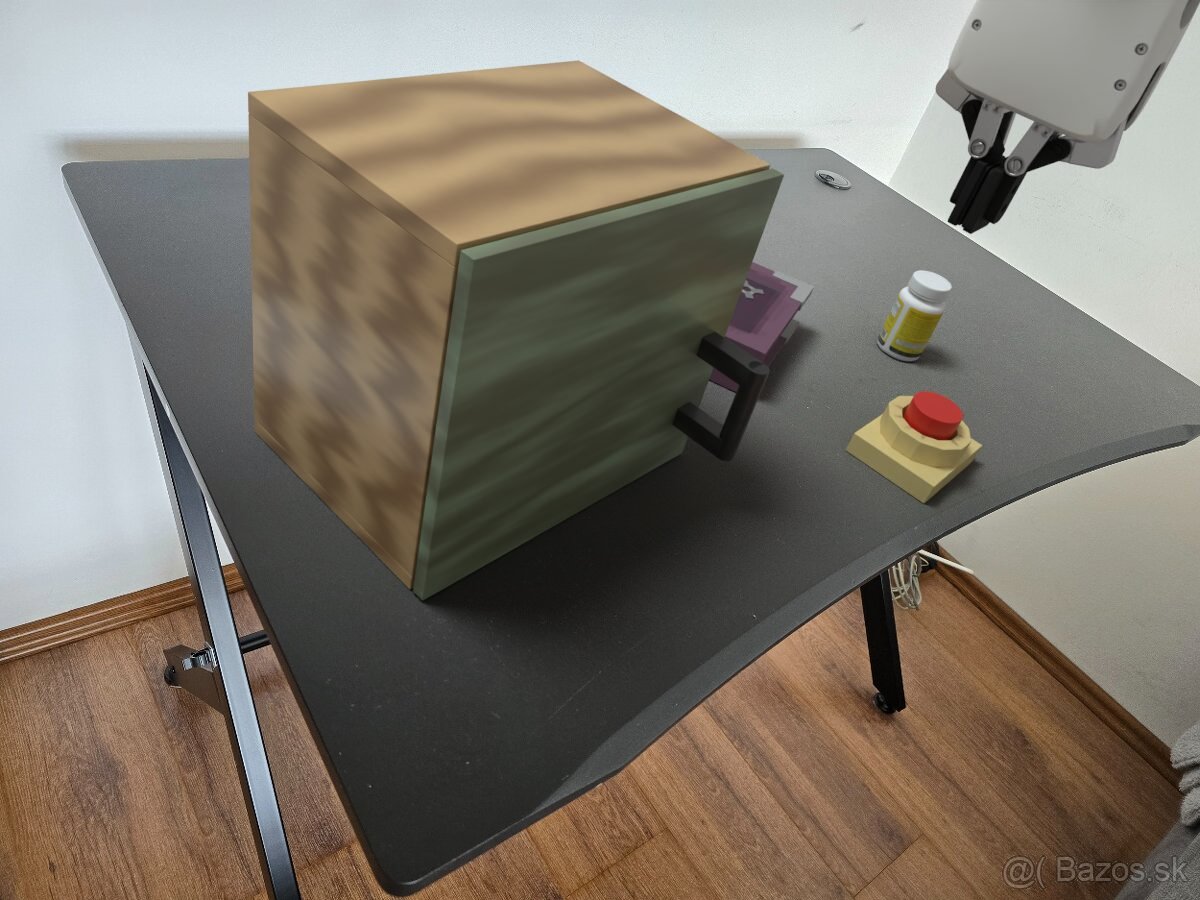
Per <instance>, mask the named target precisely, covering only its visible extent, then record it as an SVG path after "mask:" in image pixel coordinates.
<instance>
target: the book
mask: <svg viewBox="0 0 1200 900" xmlns="http://www.w3.org/2000/svg"><path fill="white" fill-rule="evenodd" d="M814 288H815V286H814V285H812V284H809V283H807V282H804V281H802V280H800V279H797V278H795V277H793V276H791V275H788V274H786V273H783V272H781V271H778V270H773V269H771V268H768V267H766V266H763V265H761V264H758V263H756V262H754V261H752V264H751V267H750V270H749V272H748V275H747V278H746V280H745V283H744V286H743V289H742V291H741V294H740V297H739V299H738V302H737V305H736V308H735V310H734V313H733V316H732V318H731V321H730V324H729V327H728V329H727V332H726V335H725V338H726V339H727V340H729V341H730V342H732V343H733V344H735V345H736V346H738V347H739V348H741V349H742V350H744V351H745V352H747V353H748V354H750V355H751V356H753V357H754V358H756V359H757V360H759V361H760V362H762V363H763V364H765V365H766V366H767V367H768V368H769V367H770V366H771V364H772V363H773V361H774V360H775V359H776V357H777V355H778V354H779V353H780V351H781V350H782V348H783V347H785V346H786V344H787V343H788V342H789V340H790V339H791V338H792V336H793V334H794V333H795V331H796V330H797V327H798V325H799V322H800V321H799V320H796V319H794V317H795V316H796V314H797V313H798V312H800V311H801V310H802V308H803V307H804V306H805V304H806V303H807V301H808V300H809V298H810V297H811V296H812V293H813V290H814ZM709 381H711V382H713V383H715V384H718V385H720V386H722V387H724V388H726V389H728V390H731V391H733V392H735V393H736V392H737V389H738V387H739V385H738V384H737V383H735V382H734V381H733V380H731V379H730V378H728V377H727V376H725V375H724V374H722V373H721V372H719V371H718V370H716V369H715V368H714V367H713V370H712V373H711V376H710V378H709Z"/></svg>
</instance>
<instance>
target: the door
mask: <svg viewBox="0 0 1200 900" xmlns="http://www.w3.org/2000/svg"><path fill="white" fill-rule="evenodd" d="M784 177H785V174H784V173H782V172H781V171H779V170H777V169H775V168H769V169H768V170H764V171H761V172H757V173H753V174H749V175H745V176H742V177H738V178H734V179H730V180H726V181H723V182H719V183H715V184H711V185H707V186H703V187H700V188H696V189H692V190H688V191H684V192H681V193H677V194H673V195H669V196H665V197H662V198H658V199H654V200H650V201H646V202H643V203H639V204H635V205H631V206H627V207H624V208H620V209H616V210H612V211H608V212H605V213H601V214H597V215H593V216H589V217H585V218H582V219H578V220H574V221H570V222H566V223H563V224H559V225H555V226H551V227H547V228H544V229H540V230H536V231H532V232H528V233H525V234H521V235H517V236H513V237H509V238H506V239H502V240H498V241H494V242H490V243H486V244H483V245H479V246H475V247H471V248H467V249H464V250H461V254H460V261H459V268H458V275H457V282H456V289H455V296H454V303H453V310H452V318H451V325H450V332H449V339H448V346H447V353H446V360H445V367H444V374H443V381H442V389H441V396H440V403H439V410H438V417H437V424H436V431H435V438H434V445H433V452H432V460H431V467H430V474H429V481H428V488H427V495H426V502H425V509H424V516H423V524H422V531H421V538H420V545H419V552H418V559H417V566H416V573H415V580H414V587H413V588H412V592H413V593H414V594H415V595H416V596H417V597H418V598H419V599H420V600H421V601H425V600H426V599H428V598H430V597H432V596H434V595H435V594H437V593H439V592H441V591H442V590H445V589H446V588H448V587H450V586H451V585H453V584H455V583H457V582H458V581H460V580H462V579H463V578H465V577H468V576H469V575H470V574H472V573H474V572H476V571H477V570H479V569H481V568H483V567H485V566H486V565H488V564H490V563H492V562H494V561H495V560H497V559H499V558H500V557H502V556H504V555H506V554H508V553H509V552H511V551H513V550H514V549H516V548H518V547H520V546H521V545H523V544H525V543H526V542H529V541H530V540H532V539H534V538H536V537H537V536H539V535H541V534H542V533H544V532H547V531H548V530H550V529H552V528H553V527H555V526H557V525H559V524H560V523H562V522H564V521H565V520H568V519H569V518H571V517H572V516H574V515H576V514H578V513H580V512H582V511H583V510H584V509H586V508H588V507H590V506H592V505H594V504H596V503H597V502H599V501H600V500H602V499H605V498H606V497H608V496H610V495H611V494H613V493H615V492H616V491H618V490H620V489H622V488H624V487H625V486H627V485H629V484H630V483H632V482H634V481H635V480H638V479H639V478H641V477H643V476H645V475H646V474H648V473H650V472H651V471H653V470H655V469H657V468H659V467H660V466H662V465H664V464H666V463H667V462H669V461H671V460H674V458H677V457H679V456H680V455H682V454H683V451H684V449H685V447H686V444H687V441H688V438H689V439H691V440H692V441H693V442H695V444H697V445H699V446H701V448H703V449H704V450H706V451H707V452H709V453H710V454H711V455H713V457H714V458H717V459H718V460H720V461H723V462H731V461H732V460H734V458H735V456H736V454H737V451H738V449H739V446H740V444H741V441H742V438H743V436H744V434H745V432H746V430H747V427H748V425H749V423H750V420H751V418H752V415H753V412H754V410H755V408H756V406H757V404H758V401H759V398H760V396H761V393H762V391H763V389H764V386H765V385H766V381H767V379H768V377H769V374H770V368H769V367H767V366H766V365H765V364H763V363H762V362H760V361H759V360H757V359H756V358H754V357H753V356H751V355H750V354H748V353H747V352H745V351H744V350H742V349H741V348H739V347H738V346H736V345H735V344H733V343H732V342H730V341H729V340H727V339H726V338H725V335H726V332H727V329H728V327H729V324H730V321H731V318H732V316H733V313H734V310H735V308H736V305H737V302H738V299H739V297H740V294H741V291H742V289H743V286H744V283H745V280H746V278H747V275H748V272H749V270H750V267H751V264H752V262H754V260H755V259H754V258H755V256H756V253H757V250H758V247H759V245H760V242H761V240H762V236H763V234H764V232H765V229H766V225H767V223H768V220H769V218H770V215H771V213H772V209H773V207H774V204H775V201H776V199H777V196H778V194H779V190H780V187H781V185H782V182H783V180H784ZM713 367H714V368H715V369H716V370H718V371H719V372H721V373H722V374H724V375H725V376H727V377H728V378H730V379H731V380H733V381H734V382H735V383H737V384H738V385H739V387H738V389H737V392H735V395H734V397H733V400H732V402H731V404H730V408H729V409H728V412H727V415H726V417H725V420H724V423H723V424H722V423H721V422H719V421H718V420H717V419H715V418H713V417H712V415H709V414H708V413H707V412H705V411H704V410H702V409H701V408H700V405H701V404H702V403H701V402H702V400H703V397H704V394H705V393H706V390H707V387H708V383H709V381H710V380H709V378H710V376H711V373H712V370H713Z"/></svg>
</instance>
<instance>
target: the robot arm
mask: <svg viewBox="0 0 1200 900" xmlns="http://www.w3.org/2000/svg"><path fill="white" fill-rule="evenodd" d="M1199 5H1200V0H976V1H975V3H974V5H973V7H972V8H971V11H970V13H969V15H968V17H967V18H966V20H965V22H964V24H963V27H962V29H961V30H960V33H959V35H958V37H957V39H956V41H955V43H954V46H953V48H952V51H951V53H950V57H949V60H948V67H947V69H946V71H945V72H944V73H943V75H942V76H941V77H940V79H939V80H938V82H937V83H936V85H935V94H936V95H937V96H938V97H939V98H940V99H942V100H943V102H945V103H946V104H947V105H948V106H950V107H951V108H952V109H953V110H954V111H956V112H958V113H959V114H960V115H961V119H962V122H963V126H964V128H965V132H966V135H967V138H968V145H967V152H968V154H969V156H970V157H969V160H968V162H967V164H966V166H965V168H964V170H963V172H962V173H961V176H960V178H959V179H958V182H957V184H956V185H955V187H954V189H953V191H952V193H951V196H950V197H949V202H950V203H951V204H953V205H954V206H953V209H952V210H951V213H950V214H949V216H948V217H947V223H949V224H950V225H953V226H955V227H956V226H960V227H961V228H962V231H964V232H965V233H968V234H969V235H972V234H974V233H976V232H978V231H979V230H981V229H983V228H985V227H988V225H989V224H992V225H996V224H997V223H998V222H999V221H1000V220H1001V219H1002V218H1003V217H1004V216H1005V213H1006V211H1007V210H1008V208H1009V207H1010V204H1011V202H1012V200H1013V199H1014V197H1015V196H1016V194H1017V192H1018V190H1019V188H1020V186H1021V184H1022V183H1023V181H1024V179H1025V177H1026V175H1027V173H1030V172H1033V171H1035V170H1037V169H1041V168H1043V167H1046V166H1050V165H1053V164H1055V163H1058V162H1061V163H1066V164H1069V165H1074V166H1080V167H1086V168H1090V169H1095V170H1096V169H1098V170H1099V169H1103V168H1105V167H1107V166H1108V165H1110V164H1112V163H1113V162H1114V160H1115V158H1116V156H1117V153H1118V149H1119V147H1120V144H1121V143H1120V142H1121V140H1122V137H1123V135H1124V132H1126V131H1127V130H1129V128H1131V127H1132V126H1133V124H1134V123H1135V122H1136V121H1137V119H1138V118H1139V116H1140V115H1141V113H1142V112H1143V110H1144V108H1145V107H1146V105H1147V103H1148V102H1149V100H1150V99H1151V96H1152V95H1153V93H1154V91H1155V89H1156V87H1157V85H1158V84H1159V82H1160V80H1161V79H1162V77H1163V75H1164V73H1165V71H1166V69H1167V68H1168V66H1169V64H1170V62H1171V61H1172V58H1173V57H1174V55H1175V53H1176V51H1177V49H1178V48H1179V46H1180V43H1181V41H1182V40H1183V38H1184V36H1185V34H1186V32H1187V30H1188V28H1189V26H1190V25H1191V22H1192V20H1193V18H1194V16H1195V14H1196V12H1197V10H1198V8H1199ZM1017 115H1019V116H1022V117H1024V118H1026V119H1028V120H1029V121H1032V124H1031V125H1030V126H1029V128H1028V130H1027V131H1026V132H1025V133H1024V135H1022V137H1021V139H1020V140H1019V141H1018V143H1017V144H1016V146H1015V147H1014V148H1013V150H1012V151H1011V152H1010V154H1009V155H1008V156H1005V155H1004V153H1005V152H1006V147H1005V145H1006V143H1007V141H1008V137H1009V135H1010V132H1011V129H1012V126H1013V124H1014V121H1015V118H1016V116H1017Z"/></svg>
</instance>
